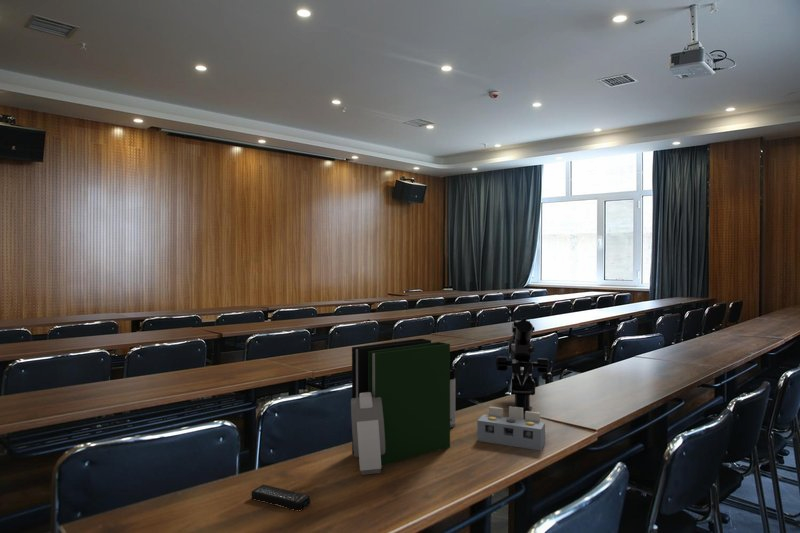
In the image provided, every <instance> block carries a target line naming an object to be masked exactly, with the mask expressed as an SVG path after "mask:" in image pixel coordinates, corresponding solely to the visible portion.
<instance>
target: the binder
mask: <svg viewBox="0 0 800 533" xmlns="http://www.w3.org/2000/svg"><path fill="white" fill-rule="evenodd" d="M450 368H451V344H450V343H446V342H441V341H436V342H435V341H434V342H432V340H431V339H426V338H415V339H406V340H399V341H392V342H381V343H374V344H366V345H360V346H352V347H351V399H352V398H359V394H360V393H366V392H371V394H372V396H375V398H377V397H381V400H382V408H383V418H384V431H385V454H381V467H385V466H388V465H391V464H394V463H398V461H399V462H401V460H402V461H405V460H404V459H406V460H409V459H412V457H413V458H416V457H418V456H419V457H420V456H423V455H427V454H430V453H434V452H438V451H440V450H444V449H447V448H450V447H451V428H450ZM351 435H352V434H351ZM351 438H352V439H351V441H352V443H351V444H352V445H351V449H352V451H351V453H352V455H354V449H353V435H352V437H351ZM357 458H358V459H359V457H357Z"/></svg>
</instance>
